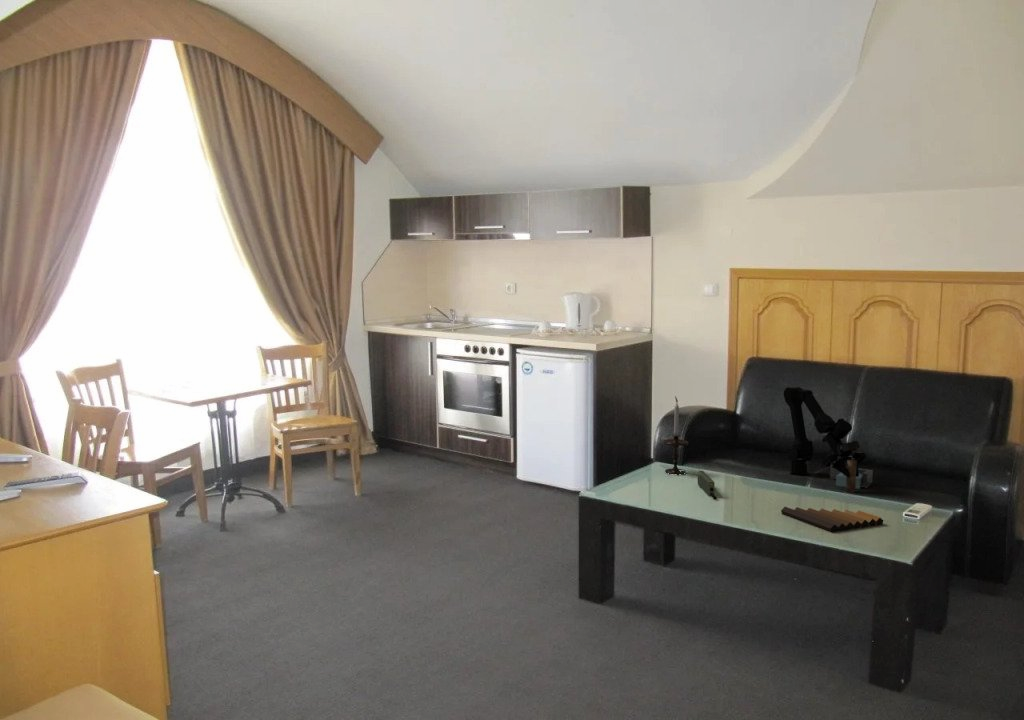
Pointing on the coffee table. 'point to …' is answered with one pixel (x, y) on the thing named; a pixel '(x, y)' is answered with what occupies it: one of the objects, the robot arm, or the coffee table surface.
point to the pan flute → (833, 518)
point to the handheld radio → (706, 484)
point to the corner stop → (865, 473)
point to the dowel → (851, 476)
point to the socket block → (842, 480)
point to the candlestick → (675, 443)
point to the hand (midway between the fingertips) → (853, 476)
